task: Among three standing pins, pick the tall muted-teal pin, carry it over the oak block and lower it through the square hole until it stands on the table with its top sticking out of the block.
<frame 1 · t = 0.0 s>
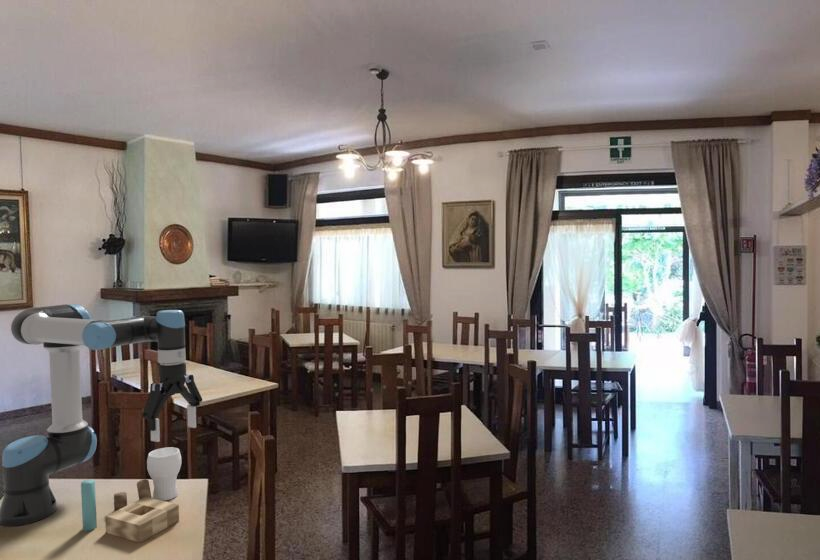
hand: (174, 433, 165), 28 cm above the table, fingers open, 13 cm apart
pin medium: (146, 503, 179), point 2 cm above the table, tilted 57°
hole block: (143, 526, 167), on the table
pin short: (120, 509, 178), on the table
cup: (165, 496, 188), on the table
pin long: (89, 528, 166), on the table
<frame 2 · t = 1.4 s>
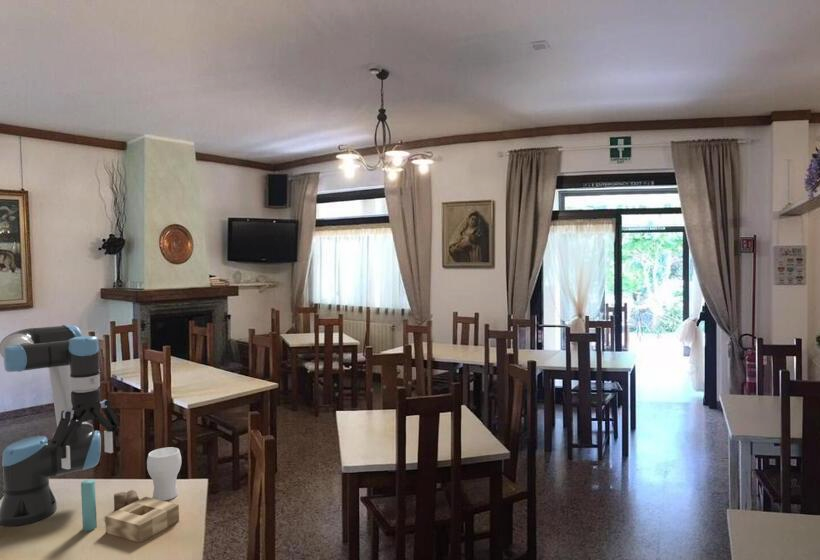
hand: (88, 460, 165), 20 cm above the table, fingers open, 13 cm apart
pin medium: (134, 504, 178), point 2 cm above the table, tilted 90°
everything else where it was.
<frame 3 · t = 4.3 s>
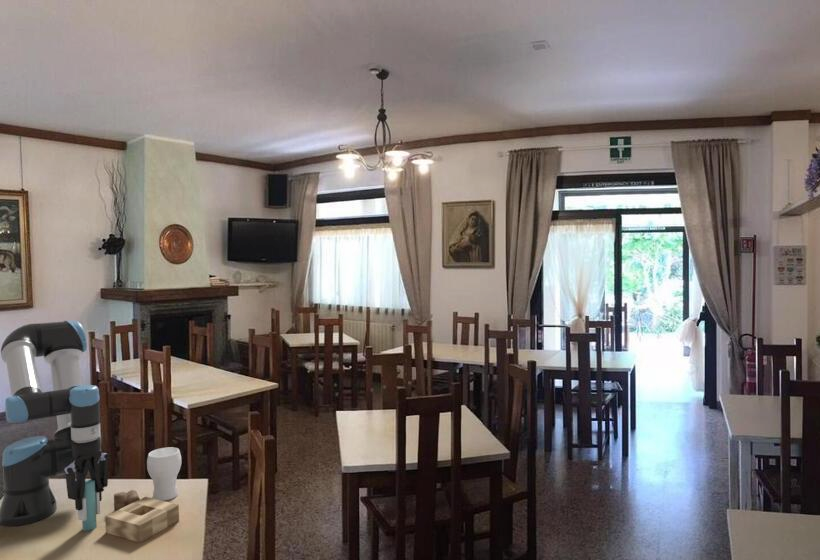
hand: (89, 516, 166), 4 cm above the table, fingers closed on pin long, 3 cm apart
pin long: (89, 527, 166), on the table, touching gripper
everything else where it was.
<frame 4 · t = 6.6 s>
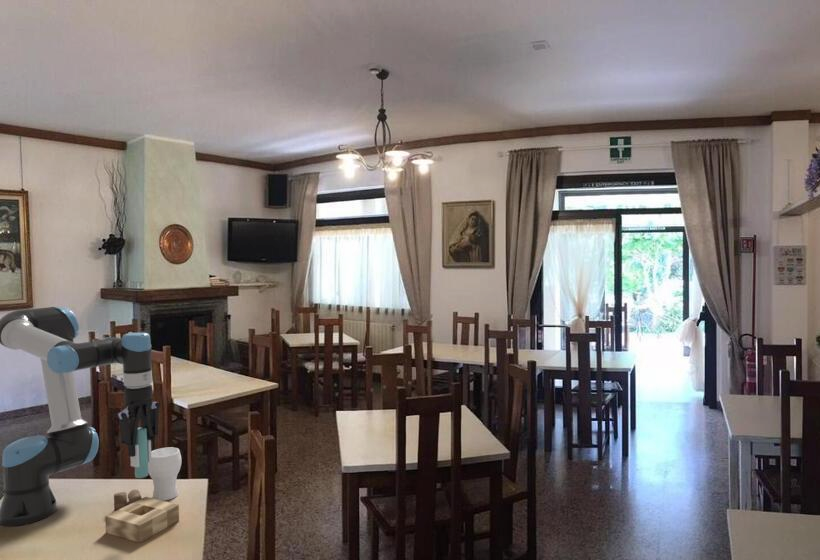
hand: (141, 463, 166), 19 cm above the table, fingers closed on pin long, 3 cm apart
pin long: (141, 475, 166), point 16 cm above the table, touching gripper
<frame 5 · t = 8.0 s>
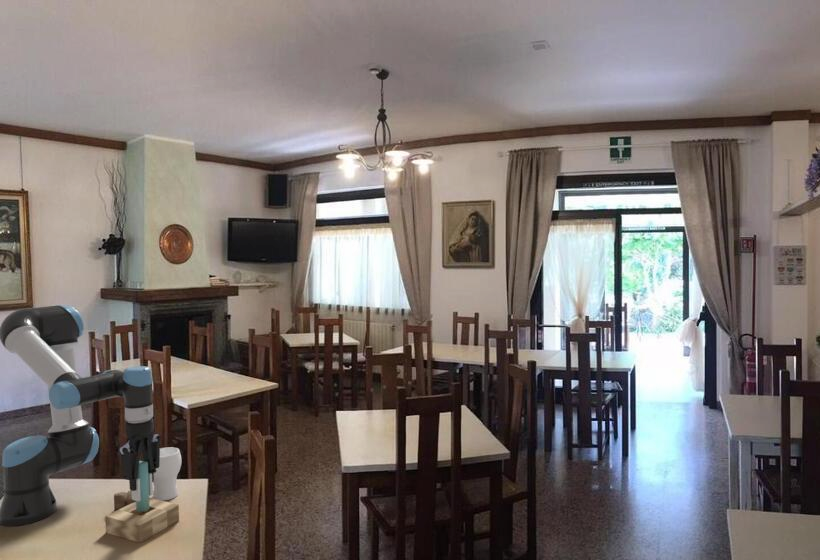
hand: (142, 497, 166), 9 cm above the table, fingers closed on pin long, 3 cm apart
pin long: (142, 509, 166), point 5 cm above the table, touching gripper
when the fingers open (6 cm above the table, at t = 9.2 s): pin long drops 2 cm, resting in hole block.
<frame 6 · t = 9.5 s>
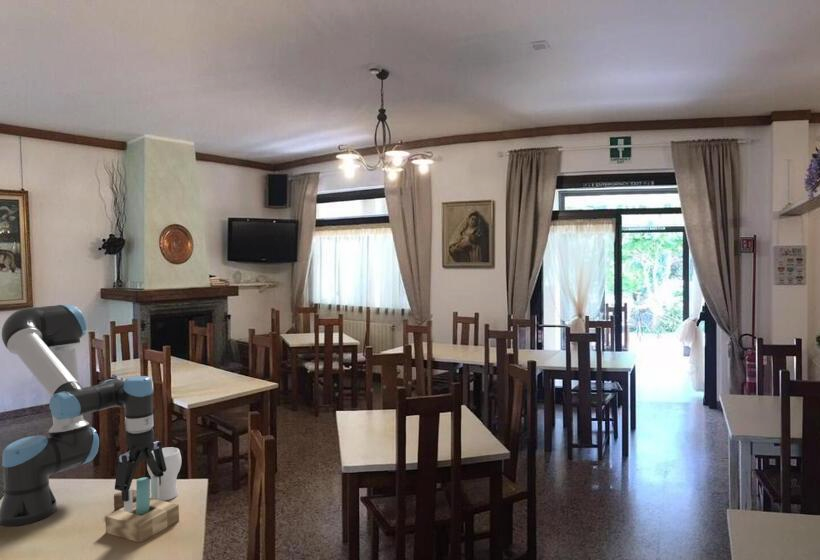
hand: (142, 503, 166), 7 cm above the table, fingers open, 9 cm apart
pin long: (142, 526, 167), resting in hole block
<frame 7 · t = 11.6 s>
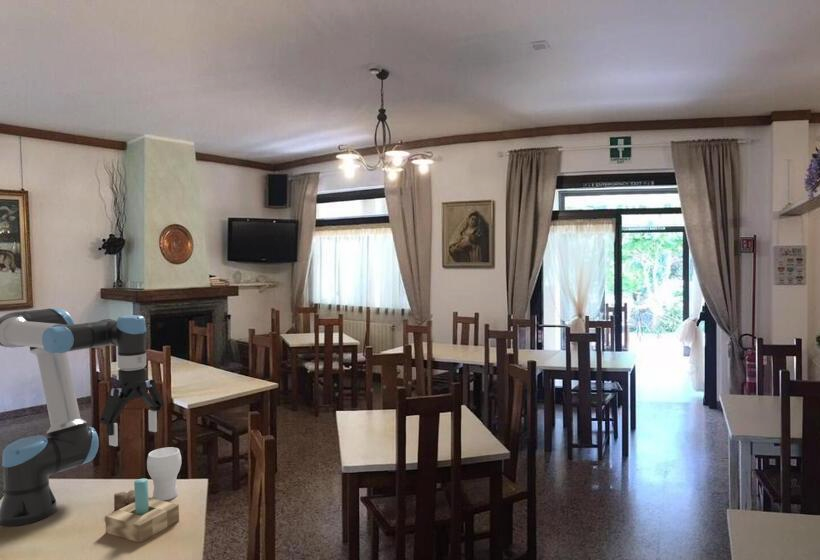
hand: (133, 438, 167), 26 cm above the table, fingers open, 13 cm apart
nothing on the table moved.
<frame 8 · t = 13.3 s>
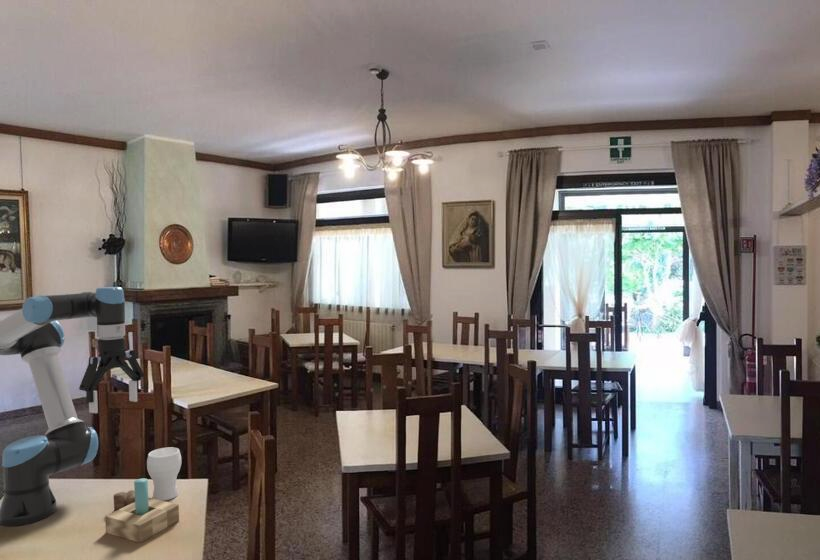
hand: (114, 406, 171), 35 cm above the table, fingers open, 13 cm apart
nothing on the table moved.
at the end: pin long 0.1 cm off-centre on the hole block, point 0.0 cm above the hole block's base; pin long tilted 0°; the gripper is holding nothing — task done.
